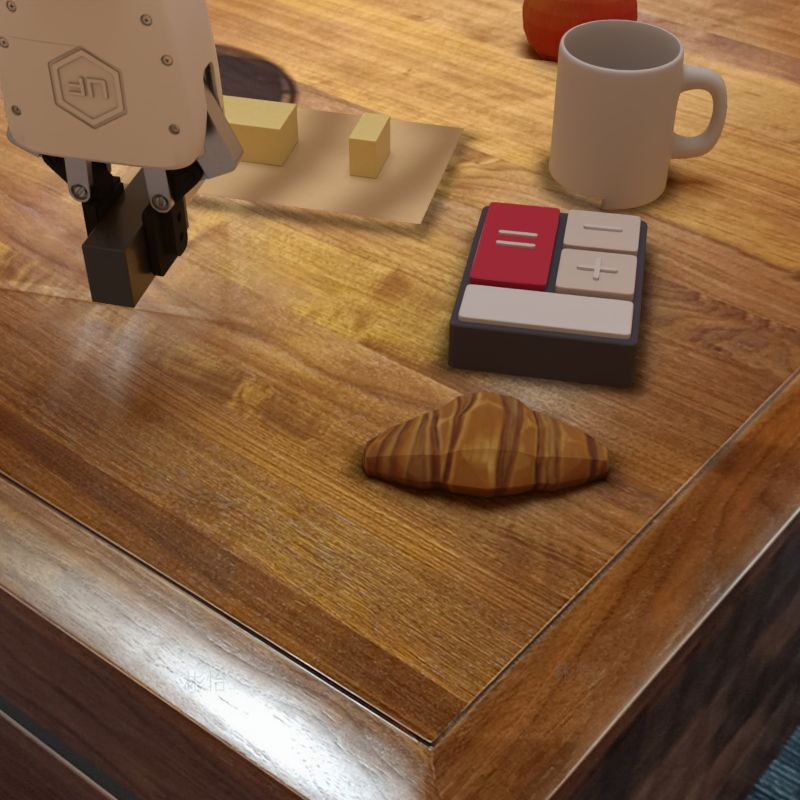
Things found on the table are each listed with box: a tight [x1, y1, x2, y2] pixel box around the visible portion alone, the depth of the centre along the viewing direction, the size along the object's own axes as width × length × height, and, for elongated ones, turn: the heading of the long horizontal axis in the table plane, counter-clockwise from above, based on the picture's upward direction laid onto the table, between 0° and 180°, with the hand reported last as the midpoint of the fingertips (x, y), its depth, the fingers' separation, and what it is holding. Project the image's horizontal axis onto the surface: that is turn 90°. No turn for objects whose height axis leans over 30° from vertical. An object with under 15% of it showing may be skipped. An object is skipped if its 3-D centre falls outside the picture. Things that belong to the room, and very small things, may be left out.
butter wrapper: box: [121, 107, 465, 225], centre depth 99 cm, size 22×14×2 cm, turn 76°
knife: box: [81, 93, 225, 309], centre depth 76 cm, size 17×2×4 cm, turn 166°
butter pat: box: [349, 111, 391, 179], centre depth 97 cm, size 2×4×3 cm, turn 166°
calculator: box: [447, 201, 648, 389], centre depth 85 cm, size 11×4×15 cm
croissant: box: [360, 390, 611, 500], centre depth 73 cm, size 14×7×5 cm, turn 89°
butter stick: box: [223, 94, 298, 166], centre depth 99 cm, size 7×4×3 cm, turn 76°
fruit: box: [521, 0, 639, 63], centre depth 111 cm, size 10×10×10 cm
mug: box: [548, 20, 728, 210], centre depth 95 cm, size 12×8×11 cm
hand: (140, 256), depth 73 cm, fingers closed on knife, 2 cm apart
